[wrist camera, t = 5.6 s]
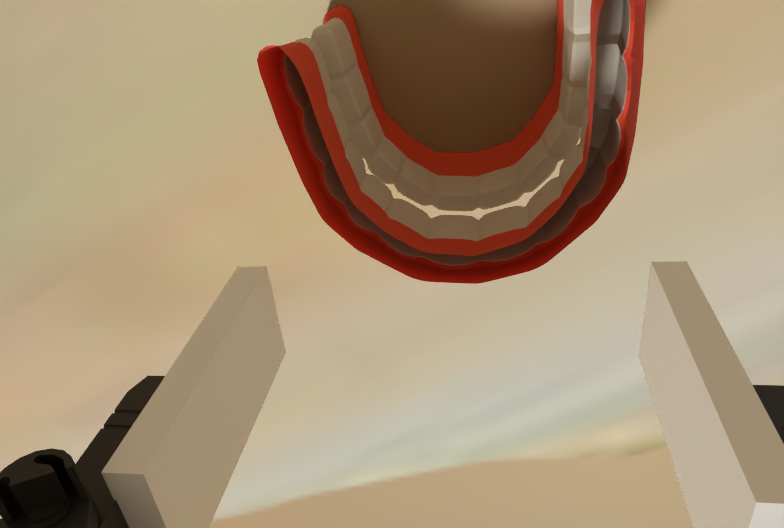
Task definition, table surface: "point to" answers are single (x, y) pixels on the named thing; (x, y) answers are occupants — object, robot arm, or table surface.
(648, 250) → the table surface
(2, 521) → the robot arm
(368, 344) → the table surface
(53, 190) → the table surface
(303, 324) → the table surface
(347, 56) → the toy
